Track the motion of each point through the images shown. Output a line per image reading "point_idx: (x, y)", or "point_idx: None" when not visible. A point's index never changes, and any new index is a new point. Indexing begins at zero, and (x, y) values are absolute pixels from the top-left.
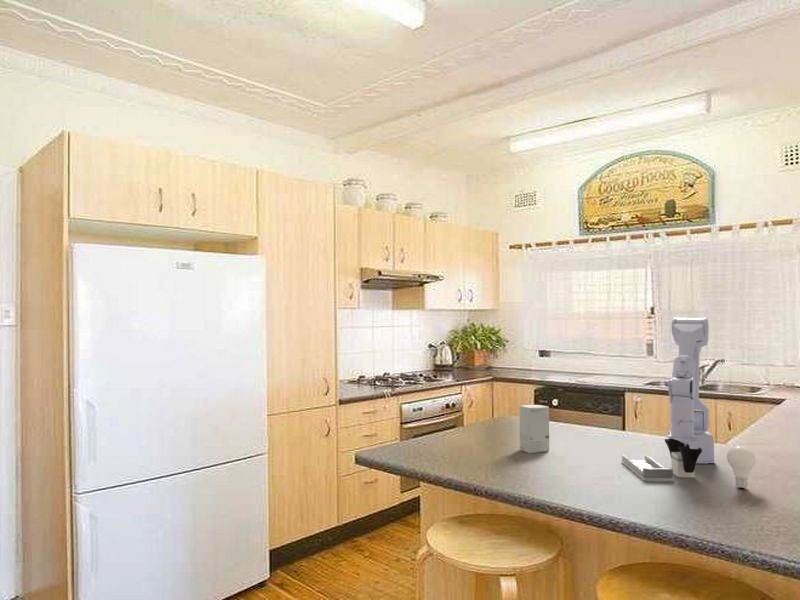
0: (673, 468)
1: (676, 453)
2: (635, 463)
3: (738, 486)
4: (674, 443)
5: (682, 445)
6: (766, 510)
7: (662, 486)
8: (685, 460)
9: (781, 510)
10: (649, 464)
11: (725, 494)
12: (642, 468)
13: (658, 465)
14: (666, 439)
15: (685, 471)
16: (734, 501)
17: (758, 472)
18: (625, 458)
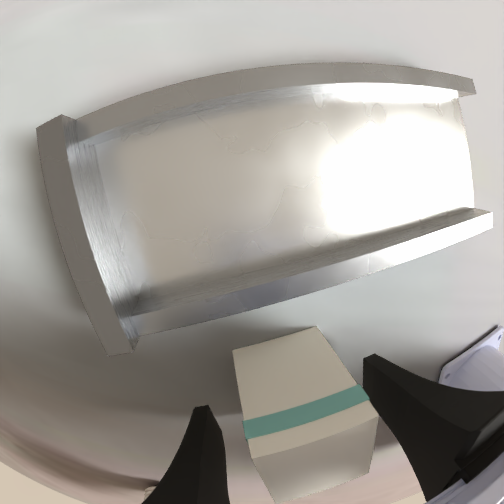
0: (302, 353)
1: (328, 447)
2: (415, 130)
3: (147, 488)
4: (441, 455)
5: (421, 471)
6: (15, 456)
7: (20, 239)
8: (171, 470)
9: (37, 476)
10: (414, 215)
11: (66, 441)
12: (317, 144)
13: (318, 266)
14: (501, 417)
15: (194, 410)
16: (21, 433)
17: (342, 498)
18: (433, 72)
